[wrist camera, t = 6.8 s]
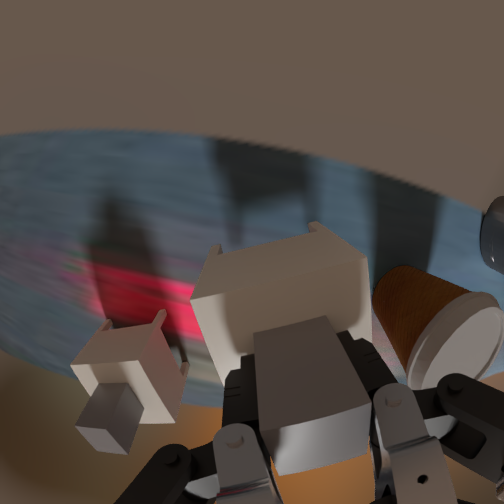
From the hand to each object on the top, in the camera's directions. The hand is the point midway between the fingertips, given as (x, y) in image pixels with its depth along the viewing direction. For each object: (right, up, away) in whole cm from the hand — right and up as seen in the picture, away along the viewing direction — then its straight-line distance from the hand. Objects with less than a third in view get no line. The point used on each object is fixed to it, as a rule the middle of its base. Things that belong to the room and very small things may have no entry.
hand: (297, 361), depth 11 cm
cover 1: (-13, -5, +15) cm, 20 cm away
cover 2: (0, +2, +8) cm, 9 cm away
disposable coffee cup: (+13, 0, +15) cm, 20 cm away
